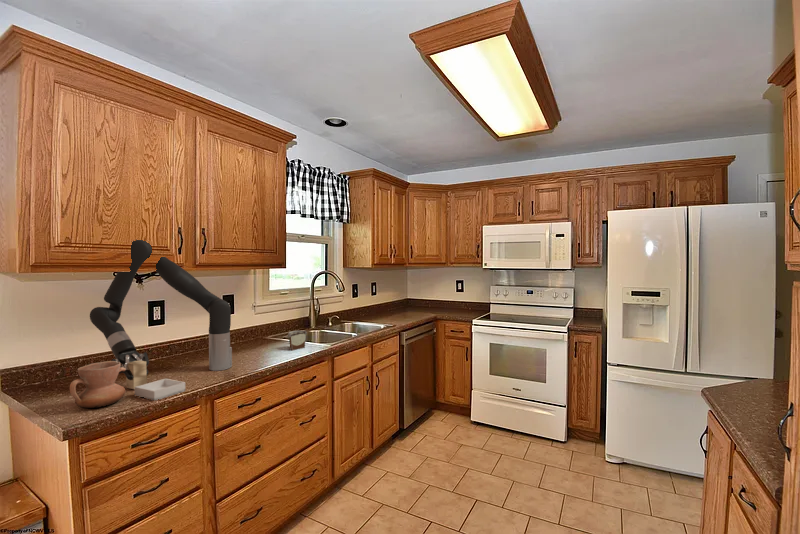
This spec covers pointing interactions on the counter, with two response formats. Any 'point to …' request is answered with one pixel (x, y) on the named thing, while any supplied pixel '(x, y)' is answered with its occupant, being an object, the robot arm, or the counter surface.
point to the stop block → (137, 374)
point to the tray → (160, 389)
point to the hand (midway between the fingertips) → (139, 376)
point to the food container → (297, 339)
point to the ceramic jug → (98, 385)
